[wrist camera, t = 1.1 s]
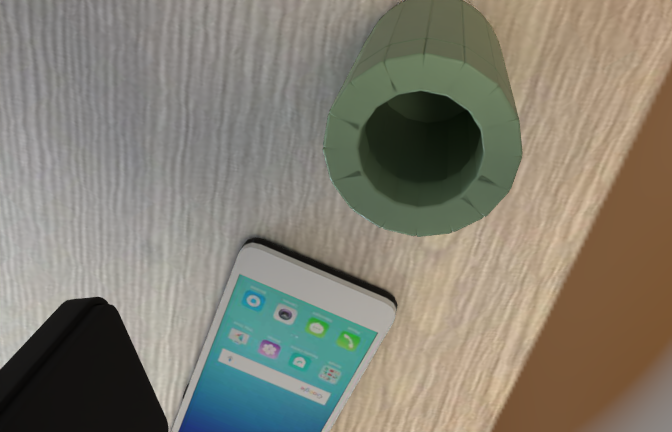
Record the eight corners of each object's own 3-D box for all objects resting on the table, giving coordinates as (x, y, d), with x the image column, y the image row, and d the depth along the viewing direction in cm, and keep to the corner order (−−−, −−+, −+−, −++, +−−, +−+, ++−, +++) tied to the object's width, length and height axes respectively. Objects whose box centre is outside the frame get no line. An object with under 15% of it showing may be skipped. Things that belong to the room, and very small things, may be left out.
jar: (351, 9, 22) (303, 74, 15) (492, -20, 21) (511, 36, 14) (377, 137, 24) (346, 245, 17) (506, 117, 23) (529, 225, 16)
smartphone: (404, 309, 26) (288, 505, 34) (405, 297, 27) (291, 492, 35) (241, 239, 26) (160, 453, 34) (247, 229, 27) (167, 441, 34)
